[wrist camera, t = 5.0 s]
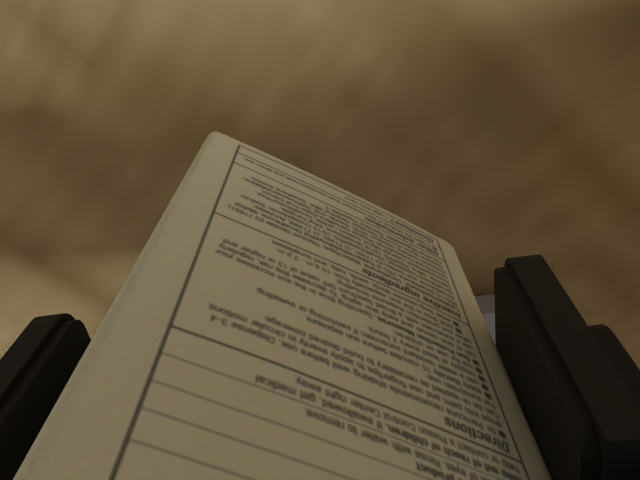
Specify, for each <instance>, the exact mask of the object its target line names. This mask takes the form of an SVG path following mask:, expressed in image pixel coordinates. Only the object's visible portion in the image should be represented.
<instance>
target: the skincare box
mask: <svg viewBox="0 0 640 480" xmlns="http://www.w3.org/2000/svg"><path fill="white" fill-rule="evenodd" d="M13 480H552V478H551V476H550V473H549V471H548V469H547V466H546V464H545V461H544V459H543V457H542V454H541V452H540V449H539V447H538V445H537V442H536V440H535V437H534V435H533V433H532V431H531V428H530V426H529V424H528V421H527V419H526V417H525V415H524V412H523V410H522V408H521V405H520V403H519V400H518V398H517V396H516V393H515V391H514V389H513V386H512V384H511V381H510V379H509V377H508V374H507V372H506V370H505V367H504V365H503V363H502V360H501V358H500V356H499V353H498V351H497V348H496V346H495V344H494V342H493V339H492V337H491V335H490V332H489V330H488V328H487V325H486V323H485V321H484V318H483V316H482V314H481V311H480V309H479V306H478V304H477V302H476V299H475V297H474V294H473V292H472V289H471V287H470V285H469V283H468V280H467V278H466V276H465V274H464V271H463V269H462V266H461V264H460V261H459V259H458V257H457V254H456V252H455V250H454V248H453V246H452V245H451V244H449V243H448V242H446V241H444V240H442V239H441V238H439V237H437V236H435V235H433V234H431V233H429V232H427V231H426V230H424V229H422V228H420V227H418V226H416V225H414V224H412V223H410V222H408V221H406V220H404V219H403V218H401V217H399V216H397V215H395V214H393V213H391V212H389V211H387V210H385V209H383V208H381V207H379V206H377V205H375V204H373V203H371V202H369V201H367V200H365V199H363V198H361V197H359V196H357V195H354V194H352V193H350V192H348V191H346V190H344V189H342V188H340V187H338V186H336V185H334V184H332V183H329V182H327V181H325V180H323V179H321V178H319V177H317V176H315V175H313V174H311V173H308V172H306V171H304V170H302V169H300V168H298V167H295V166H293V165H291V164H289V163H287V162H285V161H283V160H280V159H278V158H276V157H274V156H272V155H269V154H267V153H265V152H263V151H260V150H258V149H256V148H254V147H252V146H249V145H247V144H245V143H242V142H240V141H238V140H236V139H233V138H231V137H229V136H227V135H225V134H223V133H220V132H217V131H215V132H211V133H210V134H209V135H208V136H207V138H206V140H205V141H204V143H203V145H202V147H201V148H200V150H199V152H198V153H197V155H196V157H195V159H194V160H193V162H192V164H191V166H190V167H189V169H188V171H187V173H186V175H185V176H184V178H183V180H182V182H181V183H180V185H179V187H178V189H177V190H176V192H175V194H174V195H173V197H172V199H171V201H170V203H169V204H168V206H167V208H166V210H165V211H164V213H163V215H162V217H161V218H160V220H159V222H158V224H157V225H156V227H155V229H154V231H153V232H152V234H151V236H150V238H149V240H148V241H147V243H146V245H145V247H144V248H143V250H142V252H141V254H140V255H139V257H138V259H137V261H136V262H135V264H134V266H133V267H132V269H131V271H130V273H129V275H128V276H127V278H126V280H125V282H124V283H123V285H122V287H121V289H120V290H119V292H118V294H117V296H116V297H115V299H114V301H113V303H112V304H111V306H110V308H109V310H108V311H107V313H106V315H105V317H104V318H103V320H102V322H101V324H100V326H99V327H98V329H97V331H96V333H95V334H94V336H93V338H92V340H91V342H90V343H89V345H88V347H87V349H86V350H85V352H84V354H83V356H82V358H81V359H80V361H79V363H78V365H77V366H76V368H75V370H74V372H73V374H72V375H71V377H70V379H69V381H68V382H67V384H66V386H65V388H64V390H63V391H62V393H61V395H60V397H59V398H58V400H57V402H56V404H55V406H54V407H53V409H52V411H51V413H50V414H49V416H48V418H47V420H46V422H45V423H44V425H43V427H42V429H41V430H40V432H39V434H38V436H37V438H36V439H35V441H34V443H33V445H32V447H31V448H30V450H29V452H28V454H27V455H26V457H25V459H24V461H23V463H22V464H21V466H20V468H19V470H18V472H17V473H16V475H15V477H14V479H13Z"/></svg>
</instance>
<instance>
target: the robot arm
mask: <svg viewBox="0 0 640 480" xmlns="http://www.w3.org/2000/svg"><path fill="white" fill-rule="evenodd" d="M494 294H495V343H496V348H497V351H498V353H499V356H500V358H501V360H502V363H503V365H504V367H505V370H506V372H507V374H508V377H509V379H510V381H511V384H512V386H513V389H514V391H515V393H516V396H517V398H518V400H519V403H520V405H521V408H522V410H523V412H524V415H525V417H526V419H527V421H528V424H529V426H530V428H531V431H532V433H533V435H534V437H535V440H536V442H537V445H538V447H539V449H540V452H541V454H542V457H543V459H544V461H545V464H546V466H547V469H548V471H549V473H550V476H551V478H552V480H640V370H639V368H638V367H637V366H636V364H635V363H634V361H633V360H632V359H631V357H630V356H629V354H628V353H627V351H626V350H625V349H624V347H623V346H622V344H621V343H620V342H619V340H618V339H617V337H616V336H615V334H614V333H613V332H612V331H611V330H610V329H609V327H607V326H605V325H603V324H602V325H593V326H587V324H586V323H585V321H584V319H583V318H582V316H581V315H580V313H579V312H578V310H577V309H576V307H575V306H574V304H573V303H572V301H571V300H570V298H569V296H568V295H567V293H566V292H565V290H564V289H563V287H562V286H561V284H560V283H559V281H558V280H557V278H556V276H555V275H554V273H553V272H552V270H551V269H550V267H549V266H548V264H547V263H546V261H545V260H544V258H543V257H542V256H541V255H532V256H524V257H516V258H508V259H506V261H505V267H503V268H496V269H495V271H494ZM90 342H91V339H90V337H89V335H88V332H87V330H86V328H85V326H84V324H83V323H82V322H81V321H80V320H75V319H74V317H72V316H71V315H70V314H67V313H64V314H56V315H48V316H40V317H36V318H34V319H33V320H32V321H31V322H30V323H29V325H28V326H27V327H26V328H25V330H24V331H23V332H22V333H21V335H20V336H19V337H18V338H17V340H16V341H15V342H14V343H13V344H12V346H11V347H10V348H9V349H8V351H7V352H6V353H5V354H4V356H3V357H2V358H1V359H0V480H13V479H14V477H15V475H16V473H17V472H18V470H19V468H20V466H21V464H22V463H23V461H24V459H25V457H26V455H27V454H28V452H29V450H30V448H31V447H32V445H33V443H34V441H35V439H36V438H37V436H38V434H39V432H40V430H41V429H42V427H43V425H44V423H45V422H46V420H47V418H48V416H49V414H50V413H51V411H52V409H53V407H54V406H55V404H56V402H57V400H58V398H59V397H60V395H61V393H62V391H63V390H64V388H65V386H66V384H67V382H68V381H69V379H70V377H71V375H72V374H73V372H74V370H75V368H76V366H77V365H78V363H79V361H80V359H81V358H82V356H83V354H84V352H85V350H86V349H87V347H88V345H89V343H90Z"/></svg>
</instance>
